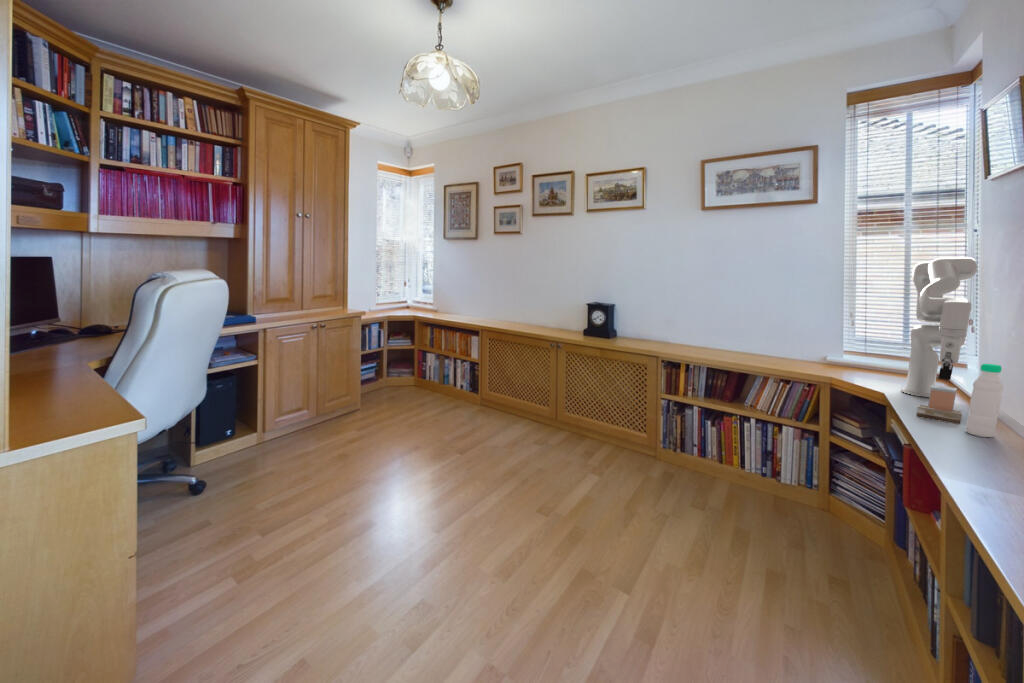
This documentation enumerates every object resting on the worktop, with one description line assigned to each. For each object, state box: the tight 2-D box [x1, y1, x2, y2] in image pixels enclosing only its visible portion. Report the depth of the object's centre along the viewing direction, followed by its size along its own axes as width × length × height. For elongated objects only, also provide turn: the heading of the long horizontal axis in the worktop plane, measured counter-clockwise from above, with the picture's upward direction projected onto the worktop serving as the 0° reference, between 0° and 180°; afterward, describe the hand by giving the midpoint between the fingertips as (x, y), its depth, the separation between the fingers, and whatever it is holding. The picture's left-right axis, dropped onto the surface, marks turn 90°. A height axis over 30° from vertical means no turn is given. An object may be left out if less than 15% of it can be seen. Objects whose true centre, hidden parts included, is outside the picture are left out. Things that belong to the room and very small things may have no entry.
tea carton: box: [927, 384, 958, 412], centre depth 170 cm, size 5×7×10 cm
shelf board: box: [916, 404, 963, 425], centre depth 171 cm, size 14×12×4 cm
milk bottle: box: [965, 363, 1004, 438], centre depth 151 cm, size 7×7×25 cm
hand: (945, 376), depth 169 cm, fingers open, 9 cm apart
